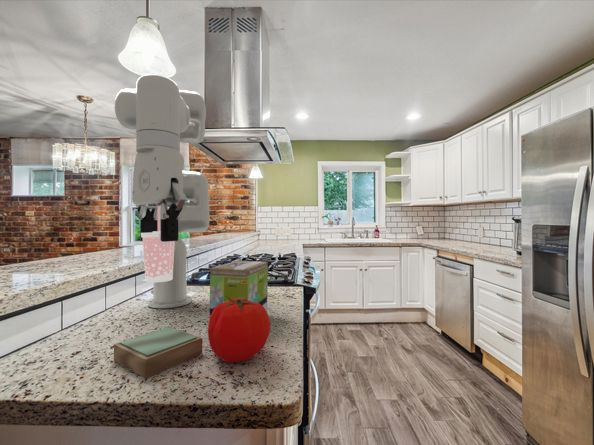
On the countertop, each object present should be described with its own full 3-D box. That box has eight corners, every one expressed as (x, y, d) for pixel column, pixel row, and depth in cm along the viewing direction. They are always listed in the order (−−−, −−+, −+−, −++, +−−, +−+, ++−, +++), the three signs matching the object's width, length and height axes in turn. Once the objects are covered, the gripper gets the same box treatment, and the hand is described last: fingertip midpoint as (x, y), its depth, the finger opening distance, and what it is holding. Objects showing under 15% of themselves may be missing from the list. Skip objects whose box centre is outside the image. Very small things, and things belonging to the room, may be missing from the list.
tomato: (214, 345, 61) (214, 291, 61) (270, 343, 62) (270, 289, 62) (199, 375, 49) (199, 307, 49) (269, 372, 50) (269, 305, 50)
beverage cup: (159, 276, 60) (159, 207, 60) (183, 278, 58) (183, 206, 58) (133, 282, 54) (132, 205, 55) (158, 284, 52) (158, 204, 52)
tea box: (249, 333, 67) (248, 268, 68) (208, 331, 69) (207, 267, 70) (268, 314, 82) (268, 260, 82) (234, 312, 84) (234, 259, 84)
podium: (113, 360, 54) (113, 342, 54) (169, 340, 64) (169, 325, 64) (145, 378, 48) (145, 357, 48) (202, 353, 57) (202, 336, 57)
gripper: (115, 148, 58) (116, 240, 58) (166, 132, 48) (166, 243, 48) (152, 155, 64) (153, 239, 64) (204, 142, 55) (205, 240, 54)
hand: (159, 239), depth 56 cm, fingers closed on beverage cup, 6 cm apart
